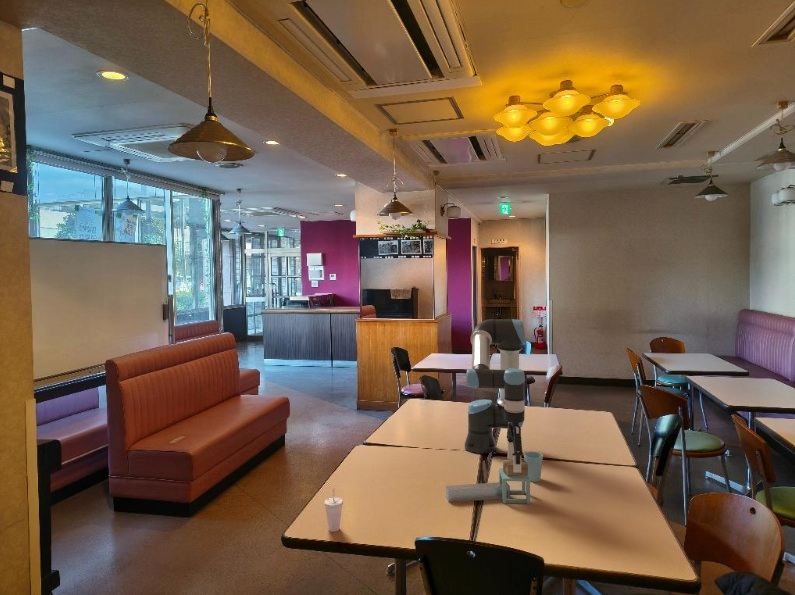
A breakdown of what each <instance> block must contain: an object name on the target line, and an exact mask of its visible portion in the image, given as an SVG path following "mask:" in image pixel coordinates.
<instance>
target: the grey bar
mask: <svg viewBox="0 0 795 595" xmlns="http://www.w3.org/2000/svg"><path fill="white" fill-rule="evenodd" d="M510 490H511V485H510V484H509V483H508V481H506V499H511V494H510ZM445 498H446V500H447V502H448V503H457V502H468V501H467V500H475V501H486V500H500V499H501V500H502V482H499V481H498V482H497V481H496V482H486V483H485V482H484V483H481V482H480V483H471V484H470V483H468V484H467V483H466V484H456V485H455V484H454V485H453V484H452V485H451V484H449V485H445Z"/></svg>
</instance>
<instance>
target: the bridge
mask: <svg viewBox="0 0 795 595" xmlns="http://www.w3.org/2000/svg"><path fill="white" fill-rule="evenodd" d="M498 482H502V499H501V500H502V501H501V502H502V504H527V505H529V504H531V481H530V478H529V476H528V475H523V476H510V477H508V476H507V475H506V474H505V473H504V472H503V467H502V468H498ZM506 482H521V489H510V495H511V494H514V495H516V494H517V495H518V494H522V495H523V494H525V498H506Z"/></svg>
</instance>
